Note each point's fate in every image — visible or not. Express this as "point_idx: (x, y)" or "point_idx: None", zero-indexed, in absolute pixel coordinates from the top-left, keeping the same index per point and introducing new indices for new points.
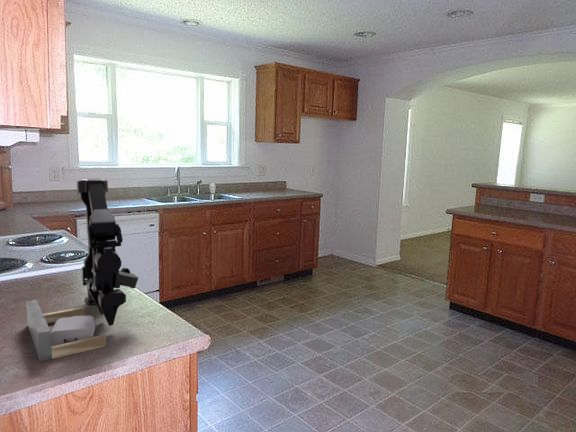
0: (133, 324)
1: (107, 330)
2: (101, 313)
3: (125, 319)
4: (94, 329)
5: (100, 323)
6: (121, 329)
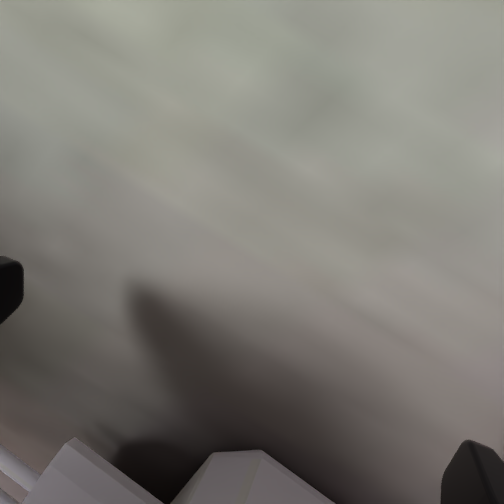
0: (484, 29)
1: (360, 376)
2: (10, 311)
3: (197, 24)
4: (296, 493)
5: (125, 304)
6: (489, 267)
